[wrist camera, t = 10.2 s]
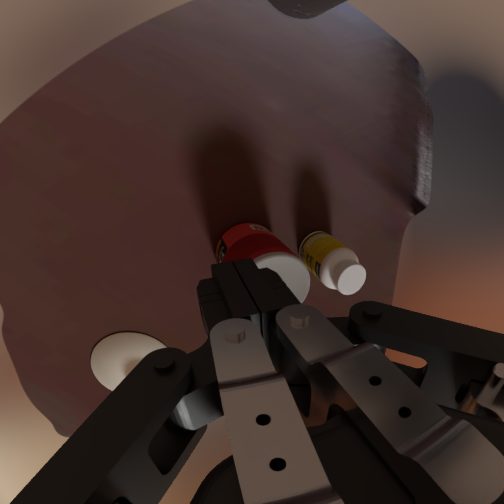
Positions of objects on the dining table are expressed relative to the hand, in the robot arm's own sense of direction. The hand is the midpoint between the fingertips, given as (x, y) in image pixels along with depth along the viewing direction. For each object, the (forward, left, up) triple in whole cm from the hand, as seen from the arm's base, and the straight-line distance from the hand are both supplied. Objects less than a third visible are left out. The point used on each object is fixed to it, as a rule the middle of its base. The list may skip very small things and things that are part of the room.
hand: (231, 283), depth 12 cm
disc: (+26, -12, -26) cm, 39 cm away
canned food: (+11, +7, -27) cm, 29 cm away
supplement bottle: (+13, +17, -27) cm, 34 cm away
